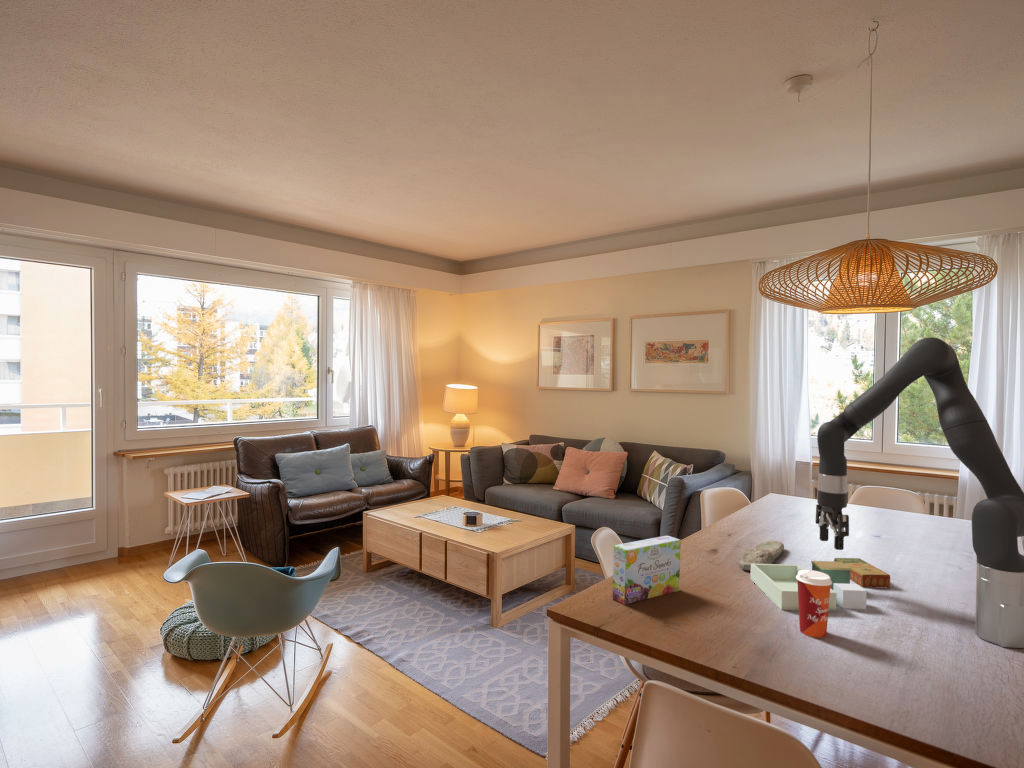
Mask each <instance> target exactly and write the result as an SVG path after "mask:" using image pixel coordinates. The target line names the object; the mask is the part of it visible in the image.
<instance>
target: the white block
mask: <svg viewBox="0 0 1024 768" xmlns="http://www.w3.org/2000/svg"><path fill="white" fill-rule="evenodd" d="M833 590H834V591H835V592H836V593H837V597H836V605H838V606H839V607H841V608H842V609H846V608H847V610H849V609H851V610H853V609H854V610H867V590H866V589H864V587H861V586H860V585H858V584H856V583H850V584H843V583H833Z"/></svg>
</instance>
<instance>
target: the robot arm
mask: <svg viewBox="0 0 1024 768" xmlns="http://www.w3.org/2000/svg"><path fill="white" fill-rule="evenodd" d="M922 377H924V379H925V381H926V382H927V384H928V385H929V386H928V387H930V389H931V391H932V393H933V397H934V399H935V403H936V408H937V409H936V410H937V416H938V421H939V424H940V427H941V431H942V432H943V434H944V437H945V441H946V442H947V444H948V446H949V448H950V449H951V451H952V453H953V454H954V455H955V456H956V458H957V459H958V461H960V462H961V463H962V464H963V465H964V466H965V467H966V468H967V469H968V470H969V471H970V472H971V473H972V474H973V475H974V476H975V477H976V479H977V480H978V481H979V483H980V485H981V487H982V488H983V491H984V494H985V496H986V498H985V499H982V500H980V501H978V502H977V503H976V504H975V506H974V507H973V509H972V514H971V536H972V537H971V538H972V539H971V540H972V548H973V551H974V553H975V555H976V569H975V570H976V572H975V574H976V576H975V577H976V578H975V585H976V586H975V625H974V626H975V627H974V629H975V631H974V632H975V635H976V636H978V638H980V639H982V640H984V641H986V642H989V643H992V644H995V645H998V646H1000V647H1002V648H1016V649H1017V648H1018V649H1019V648H1021V649H1024V555H1023V554H1021V553H1020V551H1019V546H1018V544H1019V543H1018V541H1019V539H1018V538H1020V537H1024V491H1023V489H1022V487H1021V486H1020V484H1019V482H1018V481H1017V480H1016V478H1015V476H1014V475H1013V472H1012V471H1011V469H1010V467H1009V464H1008V462H1007V460H1006V458H1005V456H1004V454H1003V452H1002V450H1001V447H1000V446H999V444H998V442H997V439H996V437H995V435H994V432H993V430H992V428H991V426H990V424H989V422H988V419H987V418H986V415H985V414H984V413H983V410H982V408H981V407H980V405H979V403H978V402H977V400H976V399H975V397H974V395H973V393H972V392H971V390H970V389H969V387H968V385H967V383H966V380H965V377H964V373H963V371H962V368H961V365H960V362H959V358H958V355H957V352H956V351H955V348H953V347H952V346H951V345H950V344H949V343H947V342H946V341H944V340H943V339H941V338H937V337H932V336H931V337H924V338H922V339H921V338H920V339H919V340H917V341H916V342H915V343H913V345H911V346H910V347H909V348H908V349H907V351H905V353H904V354H903V355H902V356H901V357H900V358H899V359H898V360H897V362H896V363H894V365H893V366H892V367H891V368H890V369H889V370H888V371H886V373H884V375H883V376H882V377H880V378H879V379H878V380H877V381H876V382H875V383H874V384H872V386H870V387H869V388H867V390H865V391H863V393H861V394H860V395H858V397H856V398H855V399H854V400H852V401H851V402H850V403H849V404H847V405H846V407H845V408H843V411H842V412H840V413H839V414H838V415H837V416H836V417H834V418H833V419H831V420H830V421H827V422H823V423H822V424H821V425H820V427H819V428H818V430H817V435H816V436H817V438H816V440H817V449H818V455H819V460H818V461H819V462H818V463H819V464H818V478H817V500H816V501H817V504H816V505H815V510H816V511H815V524H816V525H818V528H819V540H820V541H821V542H828V541H829V529H830V530H833V534H834V541H833V542H834V545H833V547H834V550H838V551H842V550H844V546H845V545H844V541H845V539H844V538H845V537H849V536H850V516H849V514H843V509H846V508H847V507H848V478H847V477H848V476H847V475H848V472H847V471H848V461H847V457H846V455H845V442H847V441H848V440H849V439H851V438H852V437H853V436H854V435H855V434H856V433H857V432H859V431H860V430H861V429H862V428H863V427H865V426H866V425H868V424H869V423H871V422H872V421H874V420H875V419H876V418H877V417H879V416H880V415H881V414H882V413H884V411H886V410H887V409H888V408H889V407H890V406H891V405H893V403H894V401H895V400H896V399H897V398H898V397H899V396H900V395H901V394H902V392H903V391H905V389H907V387H908V386H910V385H911V384H913V383H914V382H915V381H917V380H918V379H920V378H922ZM829 527H830V528H829Z"/></svg>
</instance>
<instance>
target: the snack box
mask: <svg viewBox="0 0 1024 768" xmlns="http://www.w3.org/2000/svg"><path fill="white" fill-rule="evenodd" d="M681 544H682V540H681V539H679V538H677V537H674V536H670V535H663V536H662V535H661V536H657V537H651V538H646V539H640V540H635V541H631V542H626V543H619V544H615V545H613V567H612V570H613V571H612V572H613V573H612V599H613V600H616V601H617V602H619V603H620V604H622V605H624V606H625V605H629V604H632V603H636V602H640V601H644V600H648V599H651V598H655V597H656V598H657V597H659V596H664V595H668V594H672V593H675V592H679V591H680V574H681V573H680V572H681V550H682V549H681V548H682V547H681V546H682V545H681Z"/></svg>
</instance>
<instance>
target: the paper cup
mask: <svg viewBox="0 0 1024 768" xmlns="http://www.w3.org/2000/svg"><path fill="white" fill-rule="evenodd" d="M796 579H797V583H798V605H799V610H798V619H799V624H798V625H799V631H800V633H802V634H803V635H805V636H808V637H811V638H817V639H823V638H826V637H827V633H828V632H827V631H828V623H829V620H828V619H829V599H830V586H831V584H832V581H831V579H830V577H829V575H827V574H825V573H822V572H819V571H814V570H812V569H805V570H800V571H799V572H798V575H797V576H796Z"/></svg>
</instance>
